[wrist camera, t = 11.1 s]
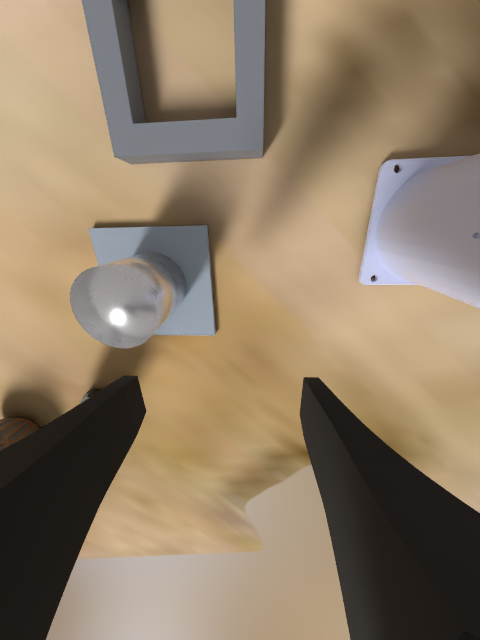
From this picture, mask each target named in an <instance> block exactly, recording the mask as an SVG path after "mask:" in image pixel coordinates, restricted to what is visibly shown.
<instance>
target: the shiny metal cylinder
mask: <svg viewBox="0 0 480 640" xmlns="http://www.w3.org/2000/svg"><path fill="white" fill-rule="evenodd" d="M185 294H186V280H185V276H184V274H183V272H182V270H181V268H180V267H179V266H178V265H177V263H176V262H174V261H173V260H172V259H171V258H169V257H168V256H166V255H164V254H161V253H157V252H146V253H142V254H138V255H135V256H131V257H128V258H124V259H121V260H117V261H114V262H111V263H107V264H104V265H100V266H97V267H93V268H90V269H87V270H86V271H84V272H82V273H81V274H80V275H79V276H78V277H77V278H76V279H75V281H74V282H73V285H72V287H71V292H70V303H71V307H72V311H73V313H74V315H75V317H76V319H77V321H78V322H79V324H80V325H81V326H82V328H83V329H84V330H85V331H86V332H87V333H88V334H89V335H91V336H92V337H93V338H95V339H96V340H98V341H100V342H101V343H104V344H106V345H109V346H112V347H116V348H133V347H136V346H139V345H141V344H143V343H145V342H146V341H147V340H148V339H149V338H150V337H151V336H152V335H153V334H154V333H155V331H156V330H157V329H158V328H159V327H160V326H161V325H162V324H163V323H164V321H165V320H166V319H167V318H168V317H169V316H170V315H171V314H172V313H173V312H174V310H175V309H176V308H177V307H178V306H179V305H180V304H181V303H182V301H183V299H184V297H185Z"/></svg>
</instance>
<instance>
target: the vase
mask: <svg viewBox="0 0 480 640" xmlns="http://www.w3.org/2000/svg"><path fill="white" fill-rule="evenodd" d="M39 429H40V428H39V427H38V426H37V425H36V424H35V423H34V422H32V421H30V420H28V419H25V418H19V417H16V418H6V419H1V420H0V451H1V450H3V449H4V448H6V447H8V446H10V445H12V444H14V443H15V442H17V441H19V440H21V439H23V438H25V437H26V436H28V435H30V434H32V433H33V432H35V431H37V430H39Z"/></svg>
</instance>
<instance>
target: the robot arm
mask: <svg viewBox="0 0 480 640" xmlns="http://www.w3.org/2000/svg"><path fill="white" fill-rule="evenodd" d="M395 165H398V166H399V171H398V172H397V173H395V172H394V167H395ZM373 275H375V279H374V280H372V281H371V277H372V276H373ZM359 282H360V283H362V284H363V285H421V286H424V287H426V288H429V289H431V290H434V291H436V292H439V293H442V294H444V295H447V296H449V297H452V298H454V299H457V300H459V301H462V302H464V303H467V304H469V305H472V306H474V307H477V308H480V153H479V154H476V155H473V156H454V157H432V158H409V159H391V160H388V161H385V162H384V163H383V164H382V165H381V166H380V169H379V173H378V178H377V183H376V189H375V194H374V199H373V204H372V210H371V215H370V220H369V225H368V231H367V236H366V241H365V246H364V252H363V257H362V262H361V267H360V273H359ZM145 413H146V408H145V404H144V401H143V397H142V393H141V389H140V385H139V381H138V377H137V376H123V377H121V378H119V379H117V380H116V381H114V382H113V383H111V384H109V385H108V386H106V387H105V388H103V389H102V390H100V391H99V392H97V393H96V394H94V395H93V396H91V397H90V398H88V399H87V400H85V401H84V402H82V403H80V404H79V405H77V406H76V407H74V408H73V409H71V410H70V411H68V412H66V413H65V414H63V415H61V416H60V417H58V418H57V419H55V420H53V421H52V422H50V423H48V424H47V425H45V426H44V427H42V428H40V429H39V430H37V431H35V432H33V433H32V434H30V435H28V436H26V437H25V438H23V439H21V440H19V441H17V442H15V443H14V444H12V445H10V446H8V447H6V448H4V449H3V450H1V451H0V640H46V637H47V634H48V632H49V629H50V626H51V623H52V621H53V618H54V615H55V613H56V610H57V608H58V605H59V602H60V600H61V597H62V595H63V592H64V590H65V587H66V584H67V582H68V579H69V577H70V574H71V572H72V569H73V567H74V564H75V562H76V560H77V557H78V555H79V552H80V550H81V547H82V545H83V543H84V540H85V538H86V535H87V533H88V531H89V529H90V526H91V524H92V522H93V520H94V517H95V515H96V513H97V510H98V508H99V506H100V504H101V502H102V500H103V498H104V496H105V494H106V492H107V490H108V488H109V486H110V484H111V483H112V481H113V479H114V477H115V475H116V473H117V471H118V470H119V468H120V466H121V464H122V462H123V460H124V459H125V457H126V455H127V453H128V451H129V449H130V447H131V445H132V444H133V442H134V440H135V438H136V436H137V434H138V431H139V429H140V427H141V424H142V421H143V419H144V416H145ZM300 418H301V424H302V430H303V435H304V440H305V443H306V447H307V450H308V454H309V457H310V460H311V464H312V467H313V470H314V474H315V477H316V480H317V484H318V487H319V491H320V494H321V497H322V501H323V505H324V509H325V513H326V517H327V522H328V527H329V531H330V536H331V541H332V546H333V550H334V555H335V560H336V565H337V570H338V575H339V580H340V586H341V591H342V595H343V601H344V606H345V612H346V617H347V623H348V628H349V633H350V639H351V640H480V513H479V512H477V511H476V510H474V509H473V508H471V507H470V506H468V505H467V504H465V503H464V502H462V501H461V500H459V499H458V498H457V497H455V496H454V495H452V494H451V493H450V492H448V491H447V490H445V489H444V488H443V487H441V486H440V485H438V484H437V483H436V482H434V481H433V480H431V479H430V478H429V477H427V476H426V475H425V474H423V473H422V472H421V471H419V470H418V469H417V468H415V467H414V466H413V465H411V464H410V463H409V462H408V461H406V460H405V459H404V458H403V457H401V456H400V455H399V454H398V453H396V452H395V451H394V450H393V449H392V448H390V447H389V446H388V445H387V444H386V443H384V442H383V441H382V440H381V439H380V438H379V437H378V436H376V435H375V434H374V433H373V432H372V431H371V430H370V429H369V428H368V427H366V426H365V425H364V424H363V423H362V422H361V421H360V420H359V419H358V418H357V417H356V416H355V415H354V414H353V413H352V412H351V411H350V410H349V409H348V408H347V407H346V406H345V405H344V404H343V403H342V402H341V401H340V400H339V399H338V398H337V397H336V396H335V395H334V394H333V392H332V391H331V390H330V389H329V388H328V387H327V386H326V385H325V384H324V383H323V382H322V381H321V380H320V379H319V378H311V377H304V380H303V389H302V398H301V408H300Z"/></svg>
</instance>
